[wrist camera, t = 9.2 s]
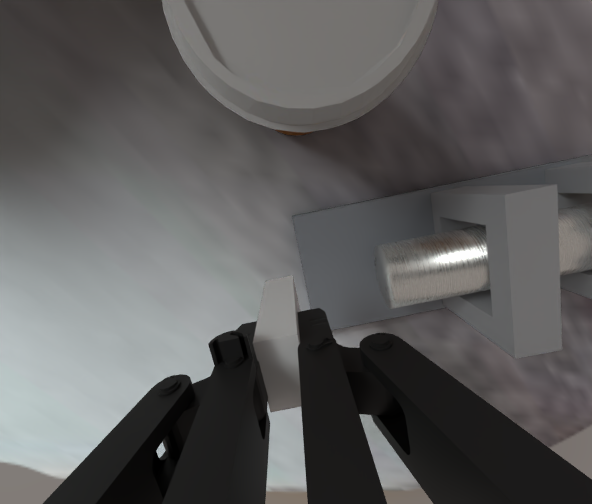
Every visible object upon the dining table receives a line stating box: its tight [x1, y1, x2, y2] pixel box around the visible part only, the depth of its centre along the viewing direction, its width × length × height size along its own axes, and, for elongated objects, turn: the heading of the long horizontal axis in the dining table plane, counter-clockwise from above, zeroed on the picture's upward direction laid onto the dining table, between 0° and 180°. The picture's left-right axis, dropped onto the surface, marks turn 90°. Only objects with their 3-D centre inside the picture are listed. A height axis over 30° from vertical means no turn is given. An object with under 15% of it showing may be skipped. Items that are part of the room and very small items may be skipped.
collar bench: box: [292, 155, 592, 359], centre depth 18 cm, size 28×9×11 cm, turn 101°
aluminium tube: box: [374, 202, 592, 309], centre depth 19 cm, size 22×4×4 cm, turn 101°
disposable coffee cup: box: [162, 0, 438, 136], centre depth 15 cm, size 10×10×12 cm
